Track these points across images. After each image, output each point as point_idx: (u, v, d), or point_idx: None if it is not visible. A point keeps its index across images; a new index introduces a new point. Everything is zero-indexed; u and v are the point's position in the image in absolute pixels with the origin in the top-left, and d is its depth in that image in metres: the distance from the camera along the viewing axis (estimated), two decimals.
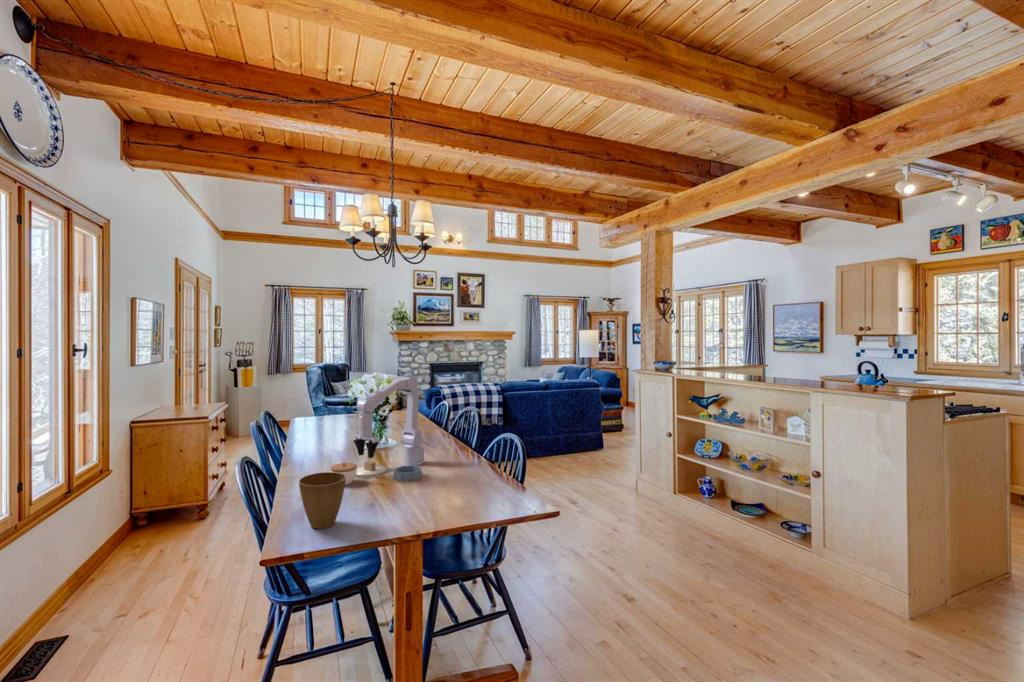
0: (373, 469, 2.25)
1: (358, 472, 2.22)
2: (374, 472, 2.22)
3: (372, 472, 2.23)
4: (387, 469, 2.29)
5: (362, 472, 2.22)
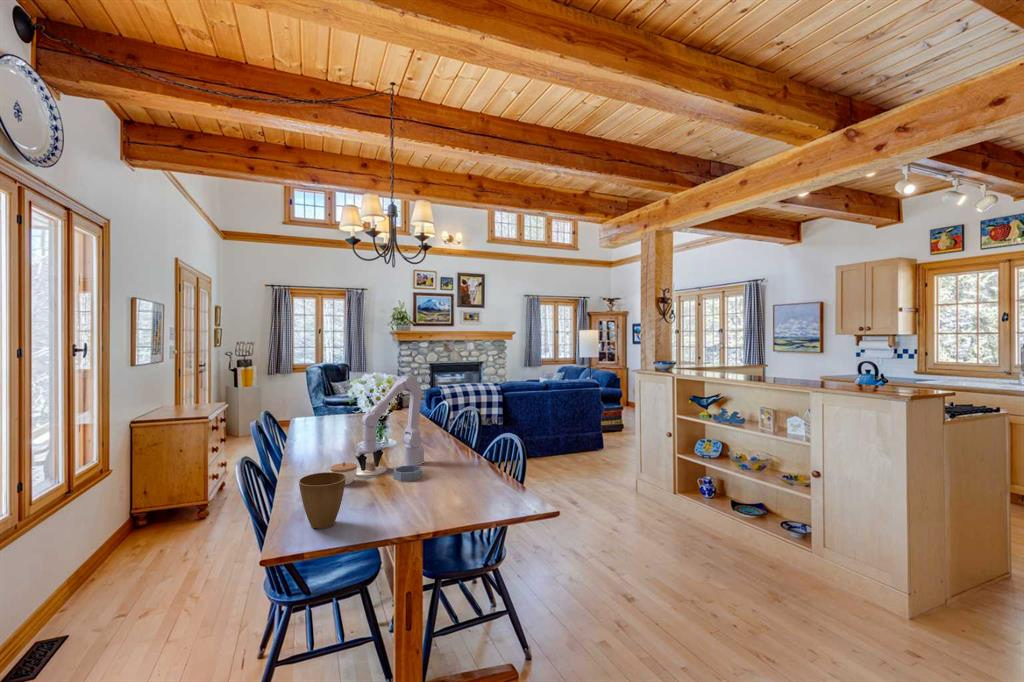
0: (373, 469, 2.25)
1: (358, 472, 2.22)
2: (374, 472, 2.22)
3: (372, 472, 2.23)
4: (387, 469, 2.29)
5: (362, 472, 2.22)
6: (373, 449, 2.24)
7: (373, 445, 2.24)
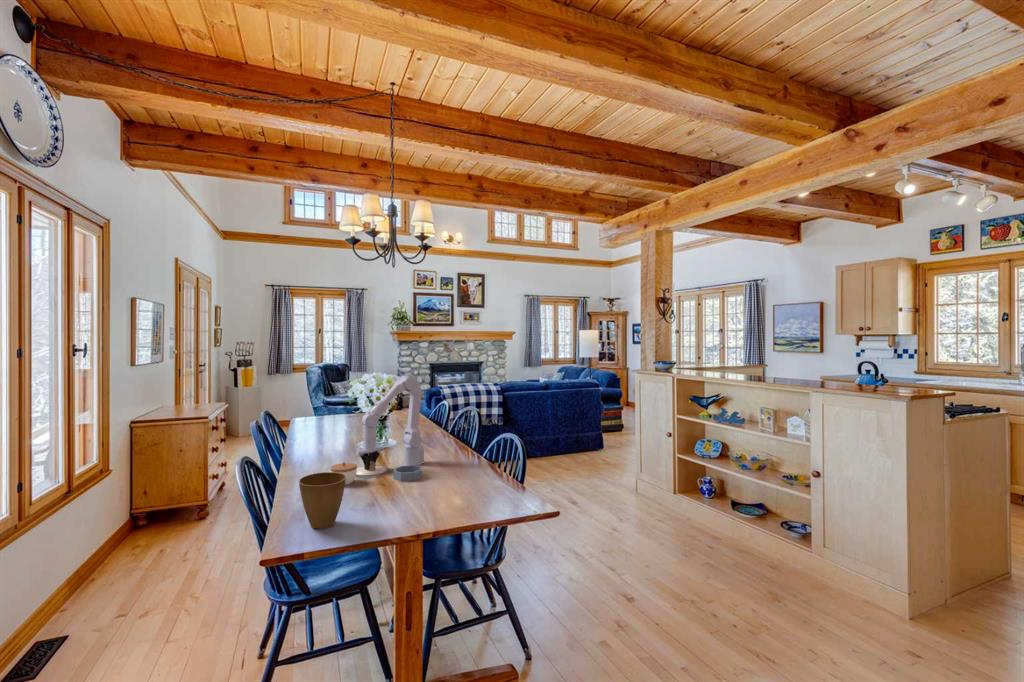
0: (373, 469, 2.25)
1: (358, 472, 2.22)
2: (374, 472, 2.22)
3: (372, 472, 2.23)
4: (387, 469, 2.29)
5: (362, 472, 2.22)
6: (373, 449, 2.24)
7: (373, 445, 2.24)
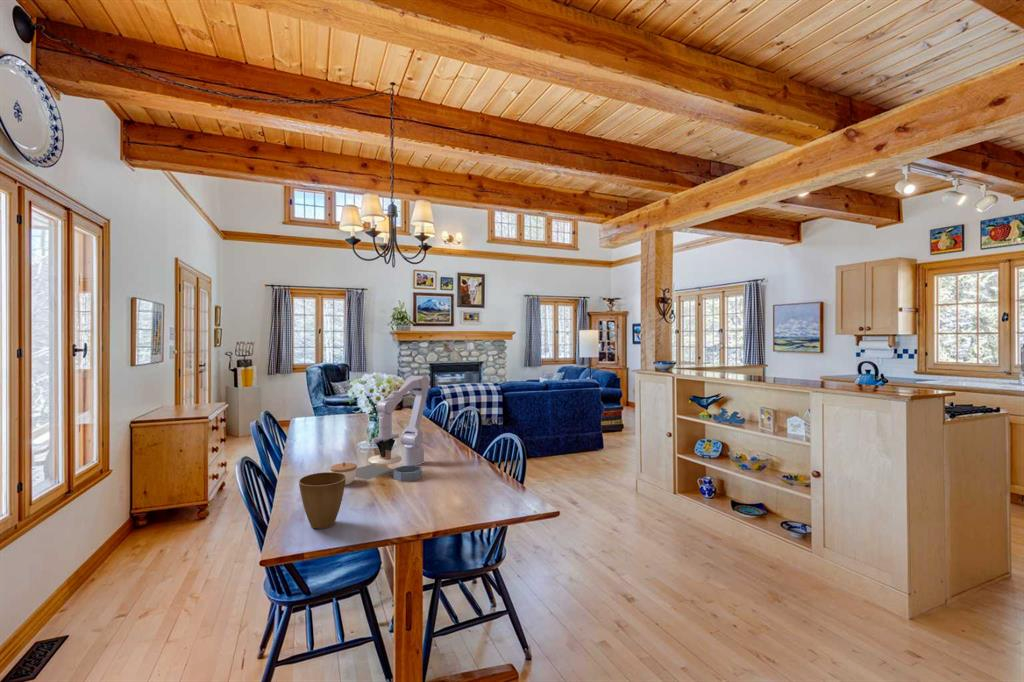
0: (388, 458, 2.21)
1: (373, 460, 2.19)
2: (389, 461, 2.19)
3: (388, 460, 2.19)
4: (387, 469, 2.29)
5: (377, 460, 2.19)
6: (389, 436, 2.20)
7: (389, 432, 2.20)
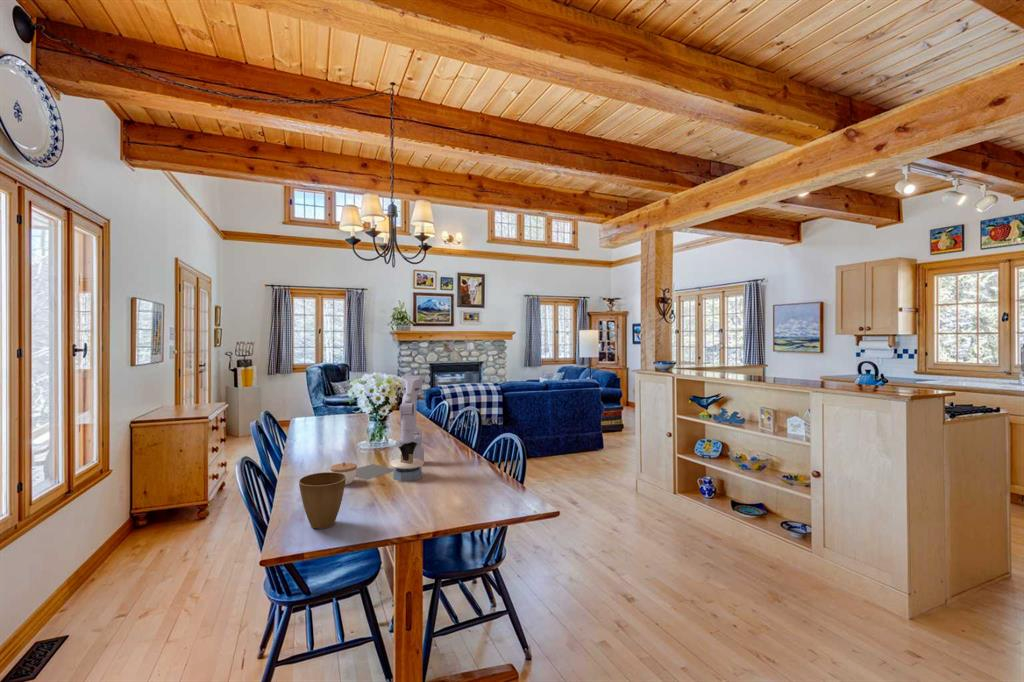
0: (411, 461, 2.17)
1: (397, 465, 2.13)
2: (413, 464, 2.14)
3: (412, 464, 2.15)
4: (387, 469, 2.29)
5: (401, 465, 2.13)
6: (412, 439, 2.16)
7: (412, 435, 2.16)
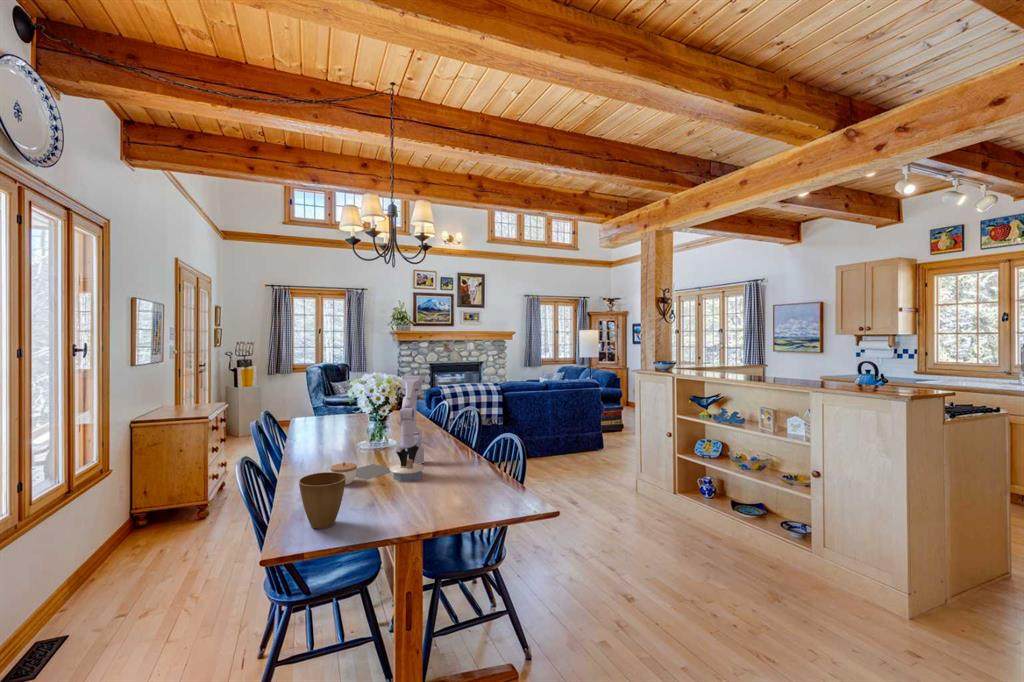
0: (411, 466, 2.17)
1: (397, 470, 2.13)
2: (413, 469, 2.15)
3: (412, 469, 2.15)
4: (387, 469, 2.29)
5: (401, 470, 2.13)
6: (412, 444, 2.16)
7: (412, 440, 2.16)
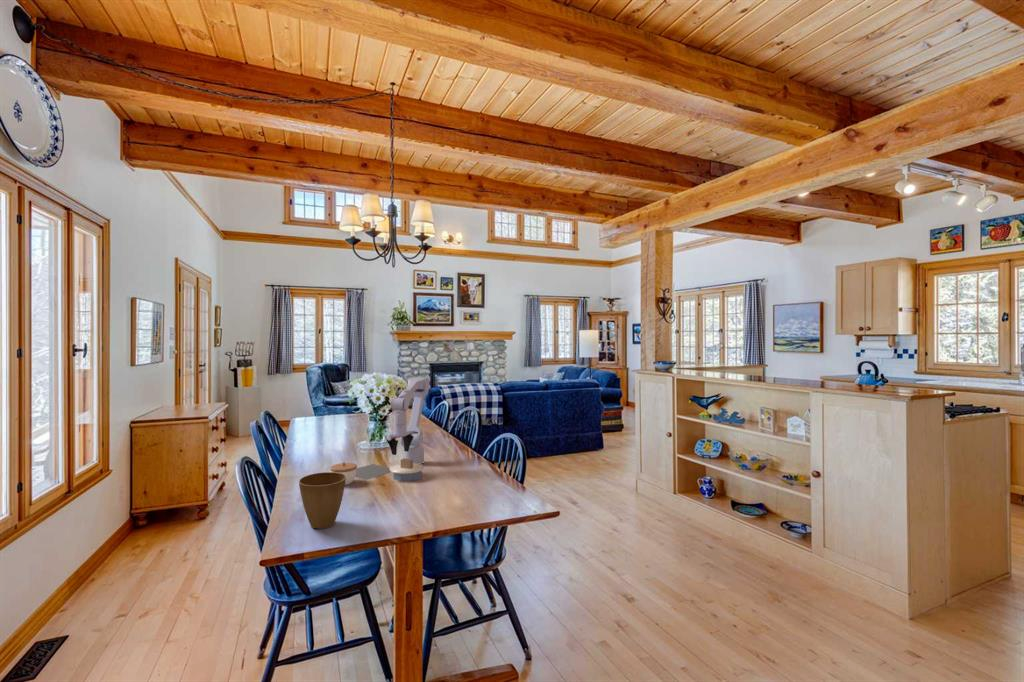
0: (411, 466, 2.17)
1: (397, 470, 2.13)
2: (413, 469, 2.15)
3: (412, 469, 2.15)
4: (387, 469, 2.29)
5: (401, 470, 2.13)
6: (404, 433, 2.22)
7: (404, 429, 2.23)
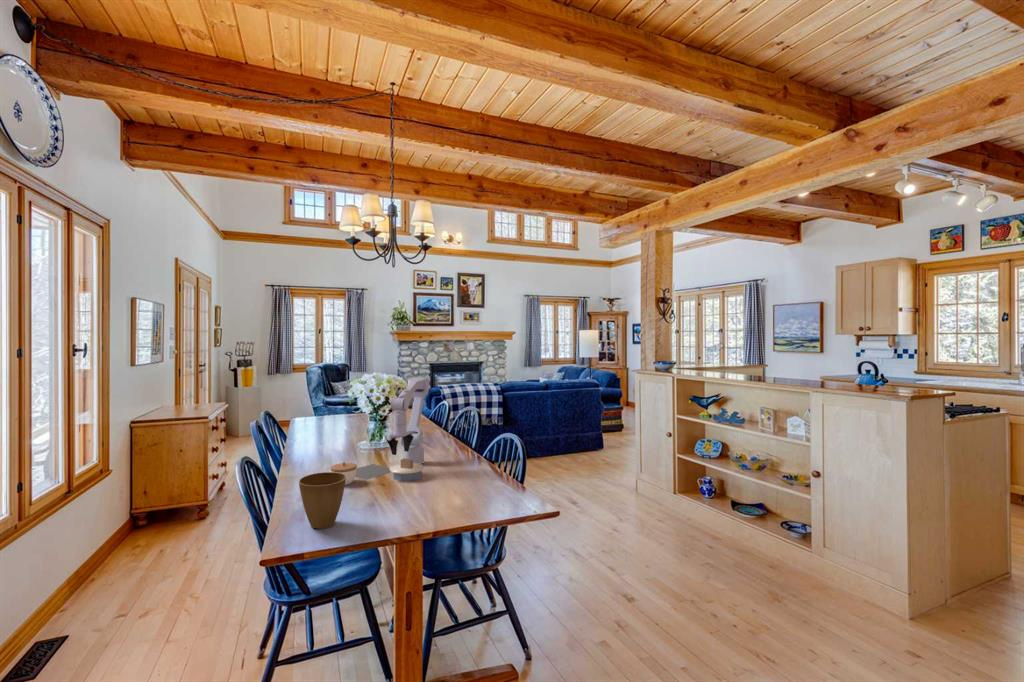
0: (411, 466, 2.17)
1: (397, 470, 2.13)
2: (413, 469, 2.15)
3: (412, 469, 2.15)
4: (387, 469, 2.29)
5: (401, 470, 2.13)
6: (404, 433, 2.22)
7: (404, 429, 2.23)
